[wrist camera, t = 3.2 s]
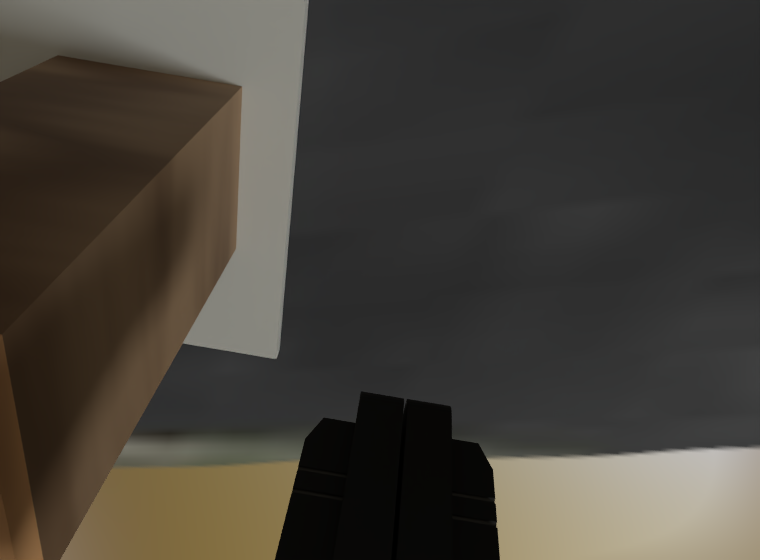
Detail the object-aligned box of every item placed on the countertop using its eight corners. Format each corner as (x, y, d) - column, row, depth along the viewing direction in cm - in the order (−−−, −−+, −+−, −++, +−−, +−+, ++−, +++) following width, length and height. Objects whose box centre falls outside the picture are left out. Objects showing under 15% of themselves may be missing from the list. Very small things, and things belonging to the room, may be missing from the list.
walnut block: (74, 221, 21) (-293, 562, 10) (57, 55, 18) (-453, 292, 8) (236, 248, 21) (27, 616, 10) (242, 86, 18) (-27, 364, 8)
